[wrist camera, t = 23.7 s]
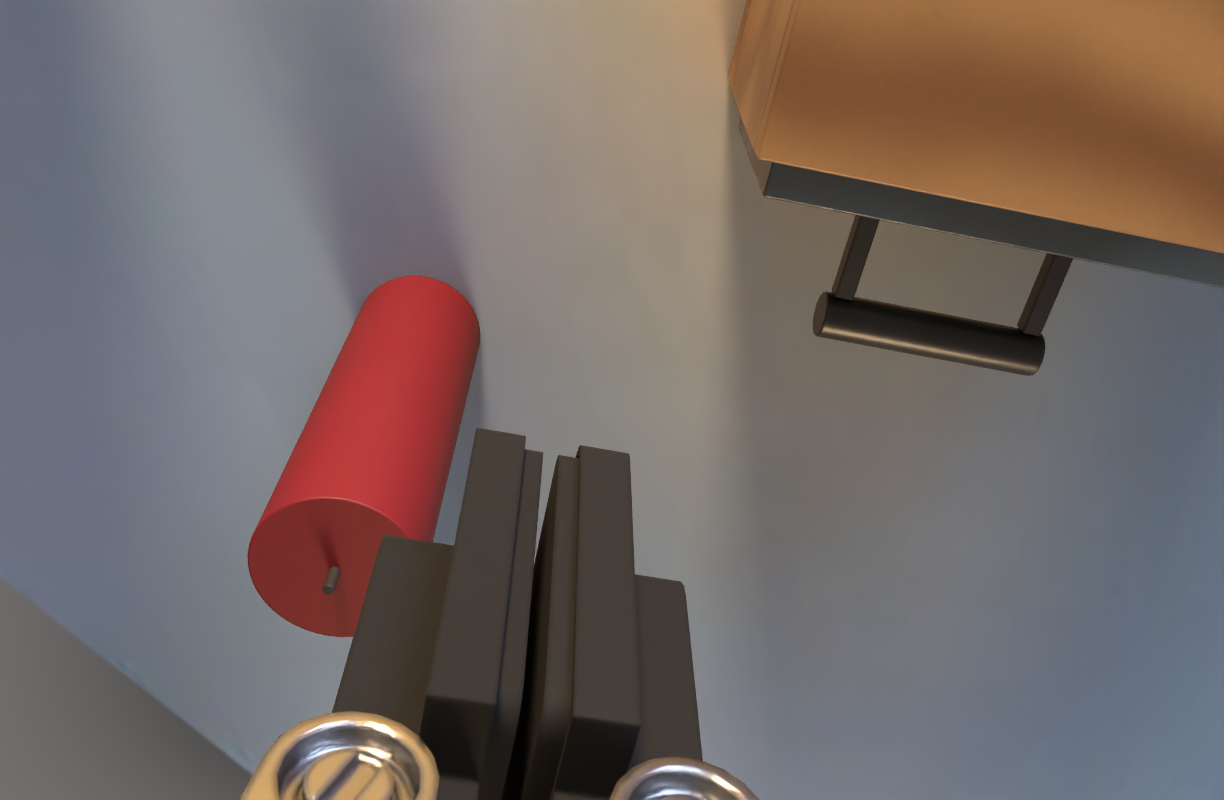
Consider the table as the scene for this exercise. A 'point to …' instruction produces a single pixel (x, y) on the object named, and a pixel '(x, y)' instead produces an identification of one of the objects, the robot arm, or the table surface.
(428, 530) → the candle
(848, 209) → the drawer
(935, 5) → the cabinet
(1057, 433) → the table surface
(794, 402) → the table surface
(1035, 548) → the table surface
